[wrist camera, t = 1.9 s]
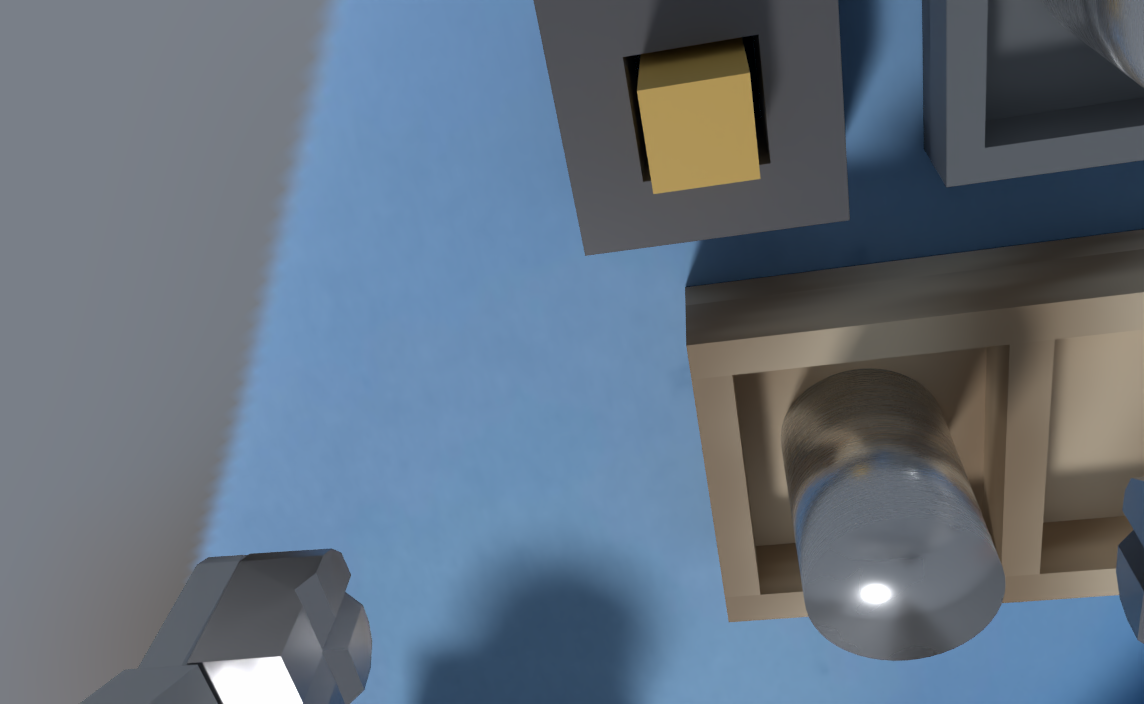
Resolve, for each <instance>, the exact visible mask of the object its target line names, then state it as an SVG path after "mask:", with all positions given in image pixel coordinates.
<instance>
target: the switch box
mask: <svg viewBox="0 0 1144 704" xmlns="http://www.w3.org/2000/svg"><path fill="white" fill-rule="evenodd" d="M534 5H535V10H536V14H537V19H538V24H539V29H540V34H541V39H542V44H543V49H544V54H545V59H546V64H547V69H548V74H549V79H550V84H551V89H552V93H553V98H554V103H555V108H556V113H557V118H558V123H559V128H560V133H561V138H562V143H563V148H564V153H565V158H566V163H567V168H568V172H569V177H570V182H571V187H572V192H573V197H574V202H575V207H576V212H577V217H578V222H579V227H580V232H581V237H582V242H583V247H584V252H585V256H587V255H594V254H602V253H609V252H617V251H624V250H631V249H639V248H646V247H654V246H661V245H669V244H676V243H684V242H691V241H698V240H706V239H713V238H721V237H728V236H736V235H743V234H751V233H758V232H765V231H773V230H780V229H788V228H795V227H803V226H810V225H818V224H825V223H832V222H840V221H847V220H850V216H849V197H848V178H847V159H846V140H845V121H844V102H843V83H842V65H841V46H840V27H839V8H838V0H534ZM752 35H753V45H754V55H755V66H756V76H757V86H758V97H759V107H760V117H761V118H757V119H755V128H756V138H757V149H758V159H759V169H760V179H756V180H749V181H742V182H735V183H728V184H721V185H714V186H707V187H700V188H693V189H686V190H679V191H672V192H665V193H658V194H653V189H652V182H651V176H650V170H649V164H648V157H647V151H646V145H645V138H644V132H643V126H642V120H641V113H640V107H639V101H638V94H637V86H638V81H637V75H636V68H635V62H634V56H633V55H638V54H644V53H650V52H656V51H662V50H668V49H674V48H680V47H686V46H692V45H698V44H704V43H710V42H716V41H722V40H728V39H734V38H740V37H746V36H752Z"/></svg>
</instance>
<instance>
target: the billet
mask: <svg viewBox="0 0 1144 704" xmlns="http://www.w3.org/2000/svg"><path fill="white" fill-rule="evenodd" d="M1042 1H1043V3H1044V5H1045V7H1046V8H1047V9H1048V11H1049V12H1050V14H1051V15H1052V16H1053V17H1054V18H1055V19H1056V20H1057V21H1058V22H1059V23H1060V24H1061V25H1062V26H1064V27H1065V28H1066V29H1068V30H1069V31H1070V32H1071V33H1073V34H1074V35H1075V36H1077V37H1078V38H1079V39H1081V40H1082V41H1083V42H1084V43H1086V44H1087V45H1088V46H1090V47H1091V48H1092V49H1094V50H1095V51H1096V52H1097V53H1099V54H1100V55H1101V56H1103V57H1104V58H1105V59H1106V60H1108V61H1109V62H1110V63H1112V64H1113V65H1114V66H1116V67H1117V68H1118V69H1119V70H1121V71H1122V72H1123V73H1125V74H1126V75H1127V76H1129V77H1130V78H1131V79H1132V80H1134V81H1135V82H1136V83H1138V84H1139V85H1140V86H1141V87H1143V88H1144V0H1042Z"/></svg>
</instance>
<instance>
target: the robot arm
mask: <svg viewBox="0 0 1144 704" xmlns="http://www.w3.org/2000/svg"><path fill="white" fill-rule="evenodd" d="M1122 511H1123V513H1124V514H1125V516H1126V518H1127V519H1128V521H1129V523H1130V525H1131V526H1132V528H1133V531H1132V532H1131V533H1130V534H1129V535H1128V536H1127V537H1126V538H1125V539H1124V540H1123V541H1122V542H1121V543H1120V544H1119V545H1118V551H1117V564H1116V575H1117V582H1118V589H1119V596H1120V600H1121V603H1122V606H1123V609H1124V612H1125V615H1126V618H1127V620H1128V622H1129V624H1130V626H1131V628H1132V630H1133V632H1134V634H1135V636H1136V638H1137V640H1138V641H1140V642H1142V643H1143V644H1144V477H1137V478H1131V479H1130V481H1129V483H1128V485H1127V487H1126V489H1125V494H1124V501H1123V508H1122ZM350 577H351V574H350V572H349V569H348V567H347V565H346V562H345V560H344V558H343V556H342V553H341V552H338V551H336V550H334V549H318V550H302V551H287V552H271V553H255V554H249V555H237V556H221V557H208V558H207V559H205V560H204V561H202V562H200V563H199V564H197V566H196V567H195V569H194V571H193V572H192V574H191V576H190V578H189V580H188V581H187V583H186V585H185V587H184V588H183V590H182V592H181V594H180V595H179V597H178V599H177V601H176V602H175V604H174V606H173V608H172V609H171V611H170V613H169V615H168V616H167V618H166V620H165V622H164V623H163V625H162V627H161V629H160V630H159V632H158V634H157V636H156V637H155V639H154V641H153V643H152V644H151V646H150V648H149V650H148V651H147V653H146V655H145V657H144V658H143V660H142V662H141V664H140V665H139V667H138V669H128V670H124V671H122V672H121V673H120V674H118V675H117V676H116V677H114V678H113V679H112V680H110V681H109V682H108V683H106V684H105V685H104V686H102V687H101V688H100V689H98V690H97V691H96V692H94V693H93V694H92V695H90V696H89V697H88V698H86V699H85V700H84V701H82V702H81V703H80V704H350V703H351V702H352V701H353V700H354V699H355V698H356V697H357V696H359V695H360V694H361V693H362V692H363V691H364V689H365V686H366V682H367V679H368V675H369V672H370V668H371V652H372V638H371V632H370V626H369V621H368V618H367V615H366V613H365V610H364V607H363V605H362V604H361V603H359V602H358V601H357V600H355V599H354V598H353V597H351V596H350V595H349V594H347V593H346V592H345V590H346V588H347V585H348V582H349V579H350Z"/></svg>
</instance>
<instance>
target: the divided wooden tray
mask: <svg viewBox="0 0 1144 704" xmlns="http://www.w3.org/2000/svg"><path fill="white" fill-rule="evenodd" d="M685 301H686V346H687V352H688V359H689V365H690V372H691V378H692V385H693V392H694V398H695V405H696V411H697V418H698V424H699V431H700V437H701V444H702V450H703V457H704V463H705V470H706V476H707V483H708V489H709V496H710V502H711V509H712V515H713V522H714V528H715V535H716V541H717V548H718V554H719V561H720V567H721V574H722V580H723V587H724V594H725V600H726V607H727V613H728V620H729V622H738V621H752V620H766V619H781V618H795V617H809V616H808V613H807V611H806V607H805V602H804V595H803V589H802V582H801V575H800V569H799V562H798V555H797V549H796V542H795V535H794V529H793V522H792V515H791V509H790V502H789V495H788V489H787V482H786V475H785V469H784V462H783V455H782V449H781V428H782V424H783V421H784V418H785V416H786V414H787V412H788V410H789V408H790V407H791V405H792V404H793V403H794V401H795V400H796V399H797V398H798V397H799V396H800V395H801V394H802V393H803V392H804V391H805V390H807V389H808V388H809V387H811V386H812V385H814V384H815V383H817V382H819V381H821V380H822V379H824V378H826V377H829V376H832V375H834V374H837V373H841V372H844V371H849V370H855V369H866V368H872V369H884V370H890V371H894V372H897V373H901V374H903V375H905V376H908V377H910V378H912V379H914V380H915V381H917V382H919V383H920V384H921V385H923V386H924V387H925V388H926V389H927V390H928V391H929V392H930V393H931V394H932V395H933V396H934V398H935V399H936V401H937V402H938V404H939V407H940V409H941V411H942V414H943V416H944V419H945V421H946V424H947V426H948V429H949V431H950V434H951V437H952V439H953V442H954V444H955V447H956V449H957V452H958V454H959V457H960V460H961V462H962V465H963V467H964V470H965V472H966V475H967V477H968V480H969V482H970V485H971V488H972V490H973V493H974V495H975V498H976V500H977V503H978V505H979V508H980V511H981V513H982V516H983V518H984V521H985V523H986V526H987V528H988V531H989V534H990V536H991V539H992V541H993V544H994V546H995V549H996V551H997V554H998V557H999V559H1000V562H1001V564H1002V567H1003V570H1004V574H1005V585H1006V586H1005V594H1004V598H1003V601H1002V603H1010V602H1024V601H1039V600H1053V599H1067V598H1082V597H1096V596H1110V595H1119V589H1118V582H1117V575H1116V564H1117V551H1118V545H1119V544H1120V543H1121V542H1122V541H1123V540H1124V539H1125V538H1126V537H1127V536H1128V535H1129V534H1130V533H1131V532H1132V531H1133V528H1132V526H1131V525H1130V523H1129V521H1128V519H1127V518H1126V516H1125V514H1124V513H1123V511H1122V508H1123V501H1124V494H1125V489H1126V487H1127V485H1128V483H1129V481H1130V479H1131V478H1137V477H1144V229H1142V230H1134V231H1126V232H1119V233H1111V234H1103V235H1095V236H1087V237H1079V238H1071V239H1063V240H1055V241H1048V242H1040V243H1032V244H1024V245H1016V246H1008V247H1000V248H992V249H984V250H977V251H969V252H961V253H953V254H945V255H937V256H929V257H921V258H913V259H905V260H898V261H890V262H882V263H874V264H866V265H858V266H850V267H842V268H834V269H827V270H819V271H811V272H803V273H795V274H787V275H779V276H771V277H763V278H756V279H748V280H740V281H732V282H724V283H716V284H708V285H700V286H692V287H685Z"/></svg>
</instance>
